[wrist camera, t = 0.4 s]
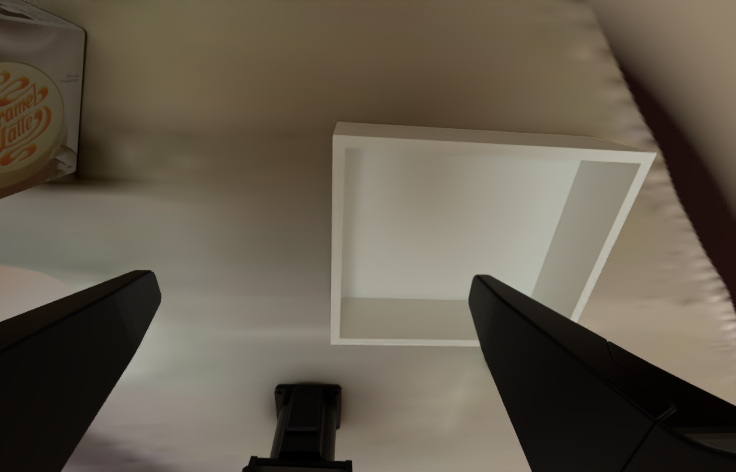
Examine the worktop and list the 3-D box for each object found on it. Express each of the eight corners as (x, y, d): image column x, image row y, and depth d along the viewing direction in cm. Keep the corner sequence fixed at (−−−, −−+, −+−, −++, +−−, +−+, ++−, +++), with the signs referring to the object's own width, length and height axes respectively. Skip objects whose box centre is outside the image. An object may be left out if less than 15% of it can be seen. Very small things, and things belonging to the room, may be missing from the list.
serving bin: (530, 302, 28) (564, 347, 23) (334, 298, 27) (330, 344, 22) (592, 136, 21) (656, 152, 17) (337, 121, 20) (332, 134, 16)
